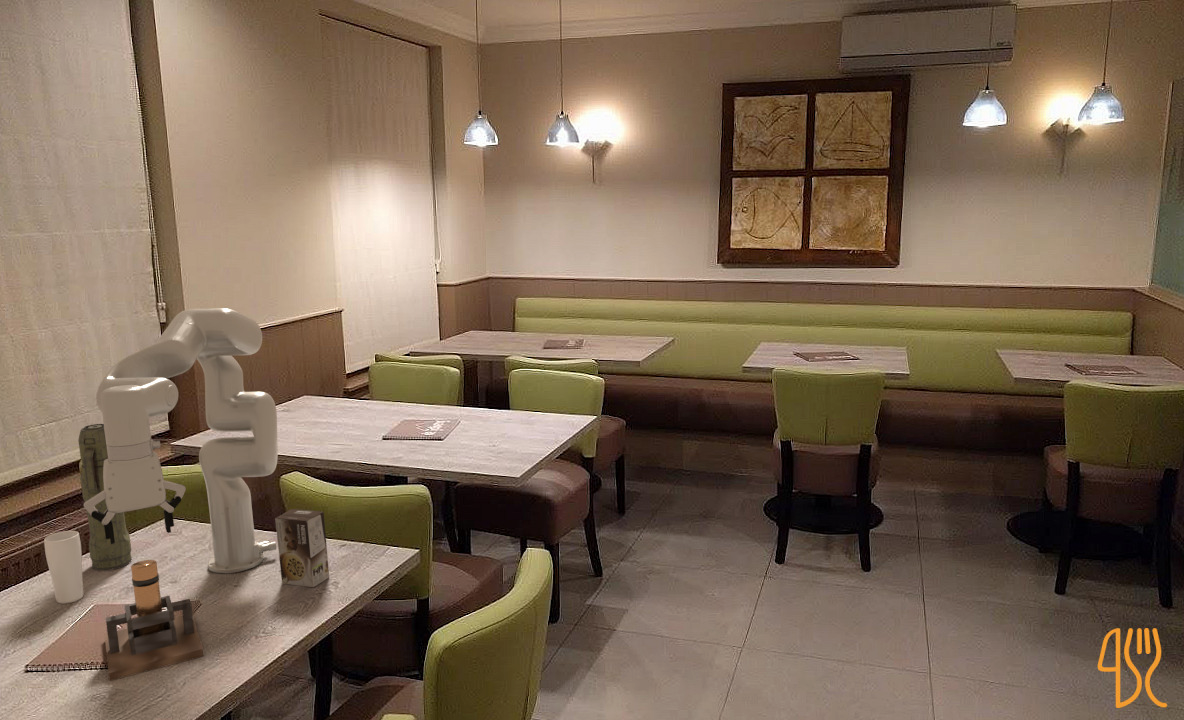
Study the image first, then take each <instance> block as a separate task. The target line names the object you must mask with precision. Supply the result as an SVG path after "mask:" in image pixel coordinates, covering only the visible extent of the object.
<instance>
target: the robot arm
mask: <svg viewBox="0 0 1184 720" xmlns="http://www.w3.org/2000/svg"><path fill="white" fill-rule="evenodd" d="M262 343H263V332H262V330H261V326H260V325H259V324H258V322H257V321H256V320H254V319H253V318H251V317H249V316H248V315H245V314H244V313H241V312H239V311H237V310H234V309H232V308H231V309H230V308H225V307H221V308H220V307H218V308H217V307H215V308H189V309H184V310H182V311H180V312H178V314H176V315H175V316H174V318H173V319H172V320H171V321H170V323H169V324H168V326H167V327H166V328H165V330H164V331H163V332H162V334H161V335H160V336H159V338H158V339H157V341H156V342H155V343H153V344H151V345H149V346H147V347H144V348H142V349H139V350H138V351H136V352H134V353H132V354H130V355H128V356H126V357H124V358H122V359H120V360H119V361H118V362H117V363H115V364H114V365H113V366H112V367H111V368H110V369H109V371H108V372H107V373H106V374H105V375H104V377H103V378H102V380H101V381H100V382H99V386H98V388H97V390H96V395H95V400H96V406H97V407H98V409H99V410H100V412H101V415H102V422H103V423H102V424H104V430H105V438H106V445H107V453H108V459H106V460H104V466H103V480H104V490H103V491H102V492H100V493H99V494H97V495H96V496H94V497H92V498H91V499H89V500H88V501H86V502H85V501H84V502H83V508H84V509H85V510H86V512H87V511H88V512H89V513H90V515H91V516H92V517H93V518H94V519H96V520H98V521H100V522H101V523H102V524H104V529H105V536H106V539H110V542H111V544H114V543H115V539H114V531H113V524H112V520H111V519H112V518H113V516H114V515H115V514H116V513H120V512H124V513H127V512H132V511H136V510H141V509H148V508H152V507H157V506H159V507H160V508H162V509H163V518H164V519H163V520H164V525H165V526H164V527H165V530H166V533H167V534H171V533H172V529H171V528H172V527H175V521H174V515H173V512H174V511H175V509H176V508H177V507H178V506H179V504H180V503H181V502H182V499H183V497H184V494H185V492H186V489H187V488H186V486H185V485H183V484H180V483H177V482H172V481H168V480H164V474H163V470H162V465H161V461H160V458H159V456H158V452H156V451H155V450H156V449H157V448H162V447H161V440H155V439H152V435H151V426H150V420H149V419H151V418H154V417H159V416H163V415H166V414H168V413H170V412H171V411H172V410H173V409H174V408H175V407H176V405H177V404H178V401H179V390H178V387H177V385H176V384H175V383H174V382H173V381H172V380H170V378H173V377H176V376H180V375H181V374H184V373H186V372H188V371H189V370H190V369H191V368H192V367H193V365H194V364H195V362H196V361H197V362H198V363H199V364H200V366H201V369H202V371H203V375H204V391H205V392H204V394H205V395H204V396H205V397H204V398H205V399H204V400H205V403H204V404H205V405H204V406H205V422H206V425H207V427H208V428H209V429H210V430H212V431H215V432H220V433H221V432H222V433H223V432H224V433H231V432H232V433H233V432H235V433H236V432H251V433H252V434H253V436H243V437H241V436H237V437H236V436H234V437H233V436H231V437H217V438H213V439H210V440H208V441H206V442H204V444H203V445H202V446H201V447H200V450H199V453H198V459H199V460H198V461H199V466H200V469H201V472H202V474H203V479H204V482H205V488H206V493H207V501H208V503H207V504H208V510H209V511H208V512H209V518H210V529H211V531H210V532H211V538H212V540H211V541H212V548H213V557H212V558H211V559H209V561H207V568H208V570H209V571H211V572H213V573H215V574H216V573H217V574H232V573H233V574H234V573H238V572H243V571H246V570H249V569H252V568H255V567H257V566H258V565H259V564H262V562H263V561H264V552H270V551H275V550H277V543H276V541H273V542H269V541H268V540H266V541H262V542H258V541H257V540H256V537H255V526H254V518H253V509H252V508H253V507H252V496H251V495H252V494H251V490H250V488H249V486H248V484H247V483H246V482H245V480H244V479H243V478H256V477H266V476H269V475H272V474H273V473H275V470H276V468H277V464H278V457H279V456H278V455H279V454H278V453H279V450H278V416H277V415H278V413H277V412H278V411H277V407H276V402H275V400H274V399H273V397H272V395H271V394H269V393H268V392H264V391H245V388H244V371H243V369H242V367H241V365H240V364H239V362H238V361H237V360H236V359H235V358H234V357H233V356H252V355H253V354H256V353H257V352H259V350H260V348H261V347H262ZM166 489H167V490H170V491H174V492H175V495H174V496H173V497H172V498H171V500H170V501H169V500H168V499H167V496H166V495H167V493H166ZM104 499H105V501H106V505H107V510H106V511H105V512H104V514H103V513H102V512H100V511H98V510H97V509H96V508H95V507H94V506H95V505H96V504H98V503H99V502H101V501H102V500H104Z"/></svg>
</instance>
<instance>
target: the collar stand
mask: <svg viewBox="0 0 1184 720" xmlns="http://www.w3.org/2000/svg"><path fill="white" fill-rule="evenodd" d="M161 605H162V609H164V608H166V610H162V612H157V613H153V614H149V615H145V616H140V617H137V616H136V617H132V616H134V615H137V611H136V603H135V602H134V603H130V604H125V605H124V612H125V613H122V614H116V615H112V616H107V617H105V624H106V632H107V633H105V634H104V640H105V651H106V662H107V671H108V672H107V673H108V679H109V681H114V680H117V679H123V678H125V677H129V676H134V675H136V674H137V675H138V674H140V673H144V672H148V671H151V670H152V671H153V670H157V669H159V668H164V667H166V666H171V665H175V664H178V663H183V662H186V661H187V662H188V661H190V660H195V659H197V658H198V659H199V658H201V657H205V654H204V648H203V645H202V642H201V641H202V640H201V638H200V635H199V632H198V629H197V626H196V624H195V623H196V622H195V619H194V617H193V607H192V601H191V599H190V598H187V599H182V600H176V601H172V600H171V596H170V595H166V596H162V597H161ZM180 611H182V615H180V616H175V612H180ZM160 623H164V630H165V631H161V632H157V633H153V634H149V635H144V636H139V628H143V627H148V626H152V625H156V624H160ZM124 624H126V627H127V628H125V629H124V628H123V629H119V630H118V627H117V626H120V625H124Z"/></svg>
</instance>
